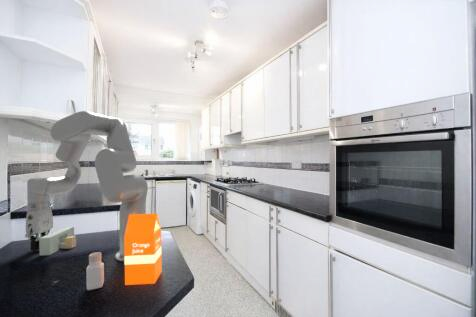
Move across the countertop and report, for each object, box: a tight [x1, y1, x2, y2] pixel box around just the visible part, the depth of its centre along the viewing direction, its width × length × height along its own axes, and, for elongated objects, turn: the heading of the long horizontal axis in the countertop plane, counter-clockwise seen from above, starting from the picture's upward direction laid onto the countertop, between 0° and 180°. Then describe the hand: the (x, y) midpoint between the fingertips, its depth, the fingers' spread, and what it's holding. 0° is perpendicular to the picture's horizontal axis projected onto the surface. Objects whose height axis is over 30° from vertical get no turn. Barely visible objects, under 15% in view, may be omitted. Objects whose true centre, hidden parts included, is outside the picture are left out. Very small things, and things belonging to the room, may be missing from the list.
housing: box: [38, 226, 75, 256], centre depth 101 cm, size 4×16×7 cm, turn 6°
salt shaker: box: [85, 251, 105, 291], centre depth 68 cm, size 4×4×10 cm
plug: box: [35, 235, 77, 252], centre depth 101 cm, size 14×4×4 cm, turn 96°
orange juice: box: [123, 213, 163, 286], centre depth 72 cm, size 8×9×20 cm
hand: (39, 247), depth 100 cm, fingers closed on plug, 4 cm apart
